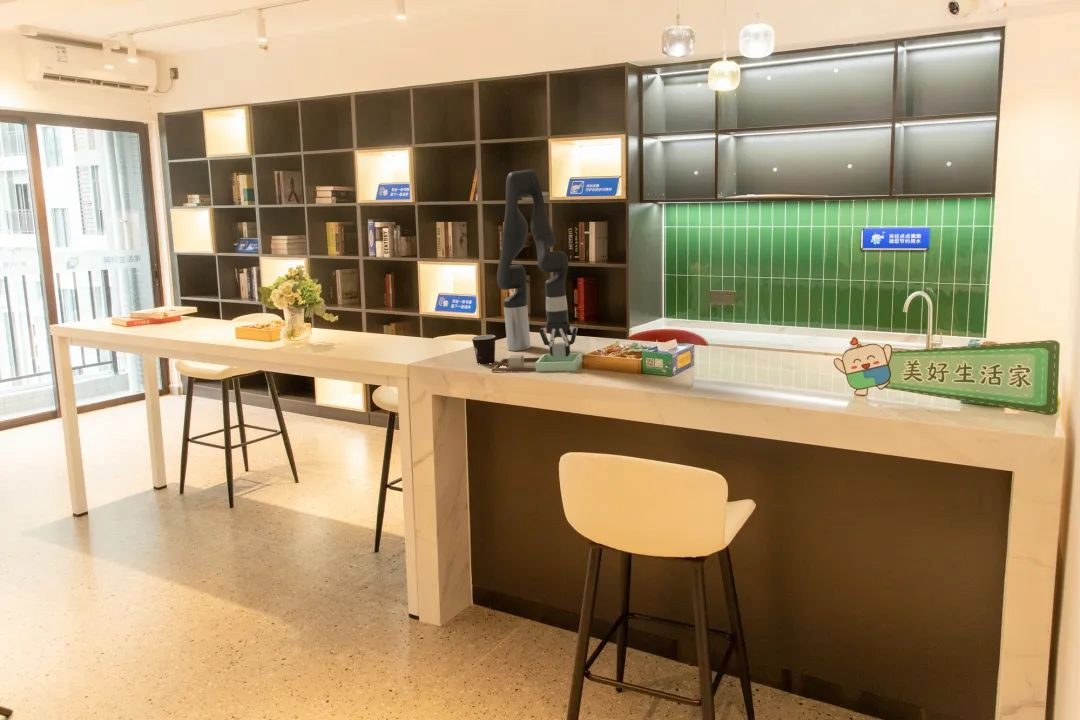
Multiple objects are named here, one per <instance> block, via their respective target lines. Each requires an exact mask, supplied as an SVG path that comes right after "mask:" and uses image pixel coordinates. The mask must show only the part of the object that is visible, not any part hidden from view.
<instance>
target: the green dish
mask: <svg viewBox="0 0 1080 720" xmlns="http://www.w3.org/2000/svg"><path fill="white" fill-rule="evenodd" d="M582 364H583V354H582V352H570V354H569V356H566V358H553V357H552V355H550V353H544V354H543V353H542V355H541V356H540V358H539V360H538V361H537V362H536V363H535V368H536V371H535V372H536V373H543V372H544V373H546V372H549V373H550V372H551V373H552V372H569V373H576V372H577V371H578V370H579V368H580V367H581V365H582Z"/></svg>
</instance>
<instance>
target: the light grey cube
mask: <svg viewBox="0 0 1080 720" xmlns="http://www.w3.org/2000/svg"><path fill="white" fill-rule="evenodd" d="M524 358H525V356H524V354H518V355H517V354H514V355H513V354H512V355H510V356H509V357H508V362H509V368H524V367H525V366H524Z"/></svg>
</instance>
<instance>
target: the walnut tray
mask: <svg viewBox="0 0 1080 720" xmlns="http://www.w3.org/2000/svg"><path fill="white" fill-rule="evenodd" d="M540 357H541V356H540ZM540 357H539V356H538V357H524V366H525V367H524V368H509V362H508V358H509V357H508V358H503V359H501V360H500V361H499V362H498V363H496V365H494V367H493V368H492V369H491V372H492V371H510V372H509V373H515V372H514V371H528V372H536V368H535V363H536V362H537V361H538V360H539V358H540ZM502 365H503V366H506V367H507V368H499V367H500V366H502ZM511 371H512V372H511Z"/></svg>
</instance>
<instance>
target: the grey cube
mask: <svg viewBox="0 0 1080 720" xmlns="http://www.w3.org/2000/svg"><path fill="white" fill-rule="evenodd" d="M565 346H566V345H565V343H564V342H554V344H553V345H552V352H553V358H566V348H565Z"/></svg>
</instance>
